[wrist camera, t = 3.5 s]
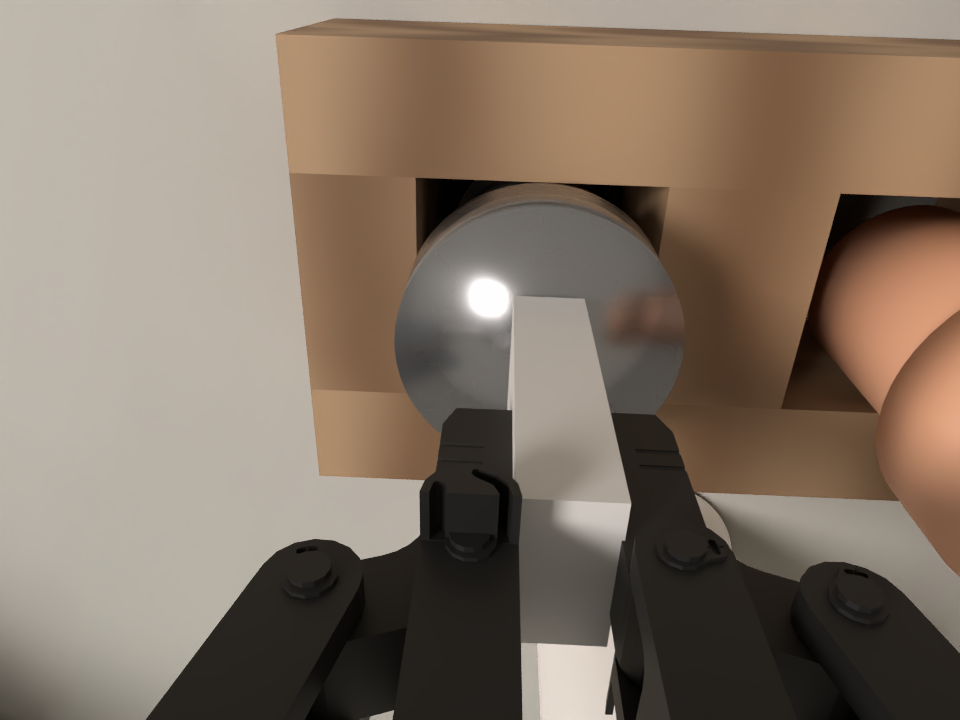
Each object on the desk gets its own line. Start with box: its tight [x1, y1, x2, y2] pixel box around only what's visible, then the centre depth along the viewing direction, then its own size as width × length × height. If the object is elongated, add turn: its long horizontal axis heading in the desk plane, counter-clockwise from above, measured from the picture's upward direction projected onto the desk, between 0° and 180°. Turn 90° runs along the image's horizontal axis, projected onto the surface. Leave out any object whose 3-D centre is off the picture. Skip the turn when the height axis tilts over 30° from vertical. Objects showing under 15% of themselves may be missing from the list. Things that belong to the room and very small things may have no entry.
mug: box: [537, 494, 732, 720], centre depth 25 cm, size 12×8×12 cm
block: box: [276, 18, 960, 501], centre depth 21 cm, size 22×12×6 cm, turn 88°
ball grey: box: [394, 180, 685, 434], centre depth 19 cm, size 6×6×8 cm
